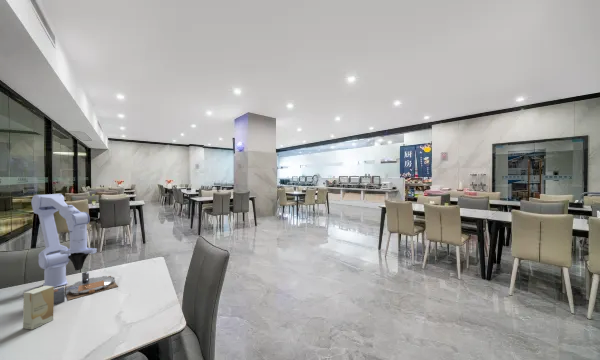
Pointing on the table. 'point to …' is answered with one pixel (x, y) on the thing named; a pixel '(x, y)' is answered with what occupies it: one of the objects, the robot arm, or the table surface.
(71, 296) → the walnut board
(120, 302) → the table surface
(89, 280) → the sprocket
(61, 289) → the gray cube
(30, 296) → the skincare box
